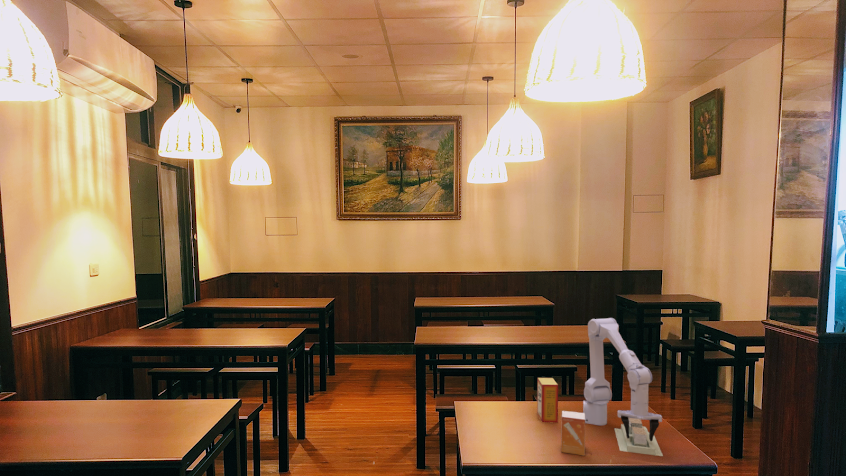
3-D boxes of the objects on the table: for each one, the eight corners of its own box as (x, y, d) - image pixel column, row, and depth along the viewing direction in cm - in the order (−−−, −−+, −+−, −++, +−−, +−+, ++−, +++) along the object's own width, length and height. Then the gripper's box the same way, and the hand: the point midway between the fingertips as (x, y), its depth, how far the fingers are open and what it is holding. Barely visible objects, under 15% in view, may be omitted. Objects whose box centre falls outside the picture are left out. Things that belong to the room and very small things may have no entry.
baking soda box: (537, 413, 204) (537, 376, 204) (552, 413, 204) (552, 377, 204) (541, 422, 195) (542, 383, 195) (557, 422, 195) (558, 384, 194)
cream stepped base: (619, 452, 168) (619, 445, 168) (614, 430, 187) (614, 423, 187) (663, 458, 164) (663, 450, 164) (652, 434, 183) (653, 427, 183)
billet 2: (634, 450, 168) (634, 433, 168) (631, 442, 174) (632, 426, 174) (646, 451, 167) (646, 434, 167) (643, 444, 173) (643, 428, 173)
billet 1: (630, 438, 178) (630, 422, 178) (628, 431, 184) (628, 416, 184) (642, 439, 177) (642, 423, 177) (639, 433, 183) (639, 417, 182)
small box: (561, 452, 168) (561, 416, 168) (561, 445, 174) (561, 410, 174) (585, 456, 165) (585, 419, 165) (584, 448, 172) (584, 412, 171)
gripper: (619, 403, 169) (618, 440, 169) (663, 407, 165) (663, 446, 165) (617, 396, 175) (616, 432, 176) (659, 400, 171) (659, 437, 171)
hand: (639, 438), depth 171 cm, fingers open, 7 cm apart
